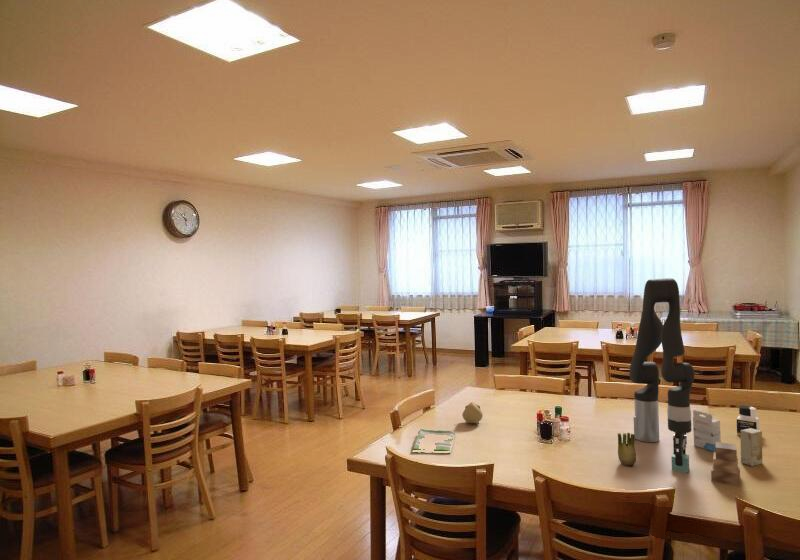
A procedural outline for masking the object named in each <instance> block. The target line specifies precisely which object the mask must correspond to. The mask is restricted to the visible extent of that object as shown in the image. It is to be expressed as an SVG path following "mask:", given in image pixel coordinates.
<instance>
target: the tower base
mask: <svg viewBox="0 0 800 560" xmlns="http://www.w3.org/2000/svg"><path fill="white" fill-rule="evenodd" d="M710 473H711V474H710V476H711V478H710V479H711V482H713V483H719V484H725V485H730V486H733V487H734V486H735V487H740V486H741V485H740V484H741V467H740V466H738V474H732V473H726V472H720V471H714V470H713V463H711V469H710Z"/></svg>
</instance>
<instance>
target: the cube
mask: <svg viewBox="0 0 800 560" xmlns="http://www.w3.org/2000/svg"><path fill="white" fill-rule="evenodd" d="M682 460H683V465H682V466H677V465H676V464H675V455H674V454H673V453H672V455H671V471H676V472H680V473H686V474H688V473H689V470H690V454H687V453H686V454H683V455H682Z"/></svg>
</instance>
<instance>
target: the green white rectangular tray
mask: <svg viewBox="0 0 800 560" xmlns="http://www.w3.org/2000/svg"><path fill="white" fill-rule="evenodd" d="M417 434H418V436H417V435H416V438H415V441H414V444H413V446H414V448H413V447H412V449H413V450H421V449H419V444H420V442H419V440H420V439H422V438H425V437H424V436H425V435H428V434H435V435H447V436H451V437H454V435H455V436H456V434H455V432H454V431H452V430H440V429H439V430H435V429H425V428H420V430H418V431H417ZM452 440H453V438H452V439H448V440H444V441H445V442H444V443H443V442H442V443H441V442H438V443H435V445H436V449H434V451H450V446H451V444H450V442H452ZM446 442H447V443H446ZM423 450H425V449H423Z"/></svg>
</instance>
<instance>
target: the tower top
mask: <svg viewBox="0 0 800 560" xmlns="http://www.w3.org/2000/svg"><path fill="white" fill-rule="evenodd" d="M715 443H716V451H715V453H716V459H720V460H727V461H734V462H737V456H738V454H737V453H738V452H737V444H735V443H734V444H733V443H728V442H721V443H720V442H715Z"/></svg>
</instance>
